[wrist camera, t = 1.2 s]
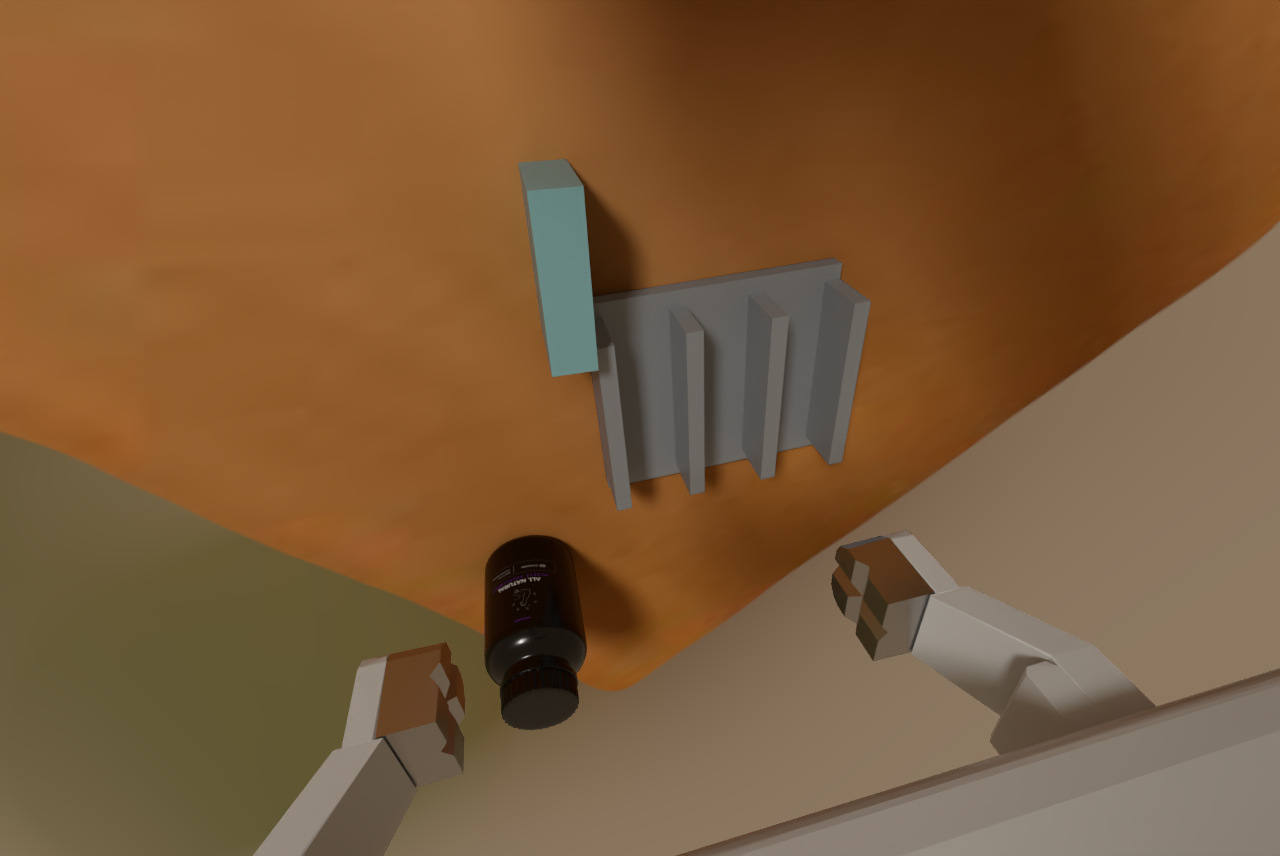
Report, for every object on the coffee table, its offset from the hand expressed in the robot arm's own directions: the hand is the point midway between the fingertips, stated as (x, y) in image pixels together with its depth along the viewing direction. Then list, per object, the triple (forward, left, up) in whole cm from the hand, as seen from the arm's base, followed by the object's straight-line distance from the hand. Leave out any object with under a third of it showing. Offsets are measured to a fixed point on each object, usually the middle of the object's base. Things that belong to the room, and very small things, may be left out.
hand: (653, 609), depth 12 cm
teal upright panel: (0, 0, -24) cm, 24 cm away
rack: (+11, +10, -24) cm, 28 cm away
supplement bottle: (+25, -5, -25) cm, 35 cm away
